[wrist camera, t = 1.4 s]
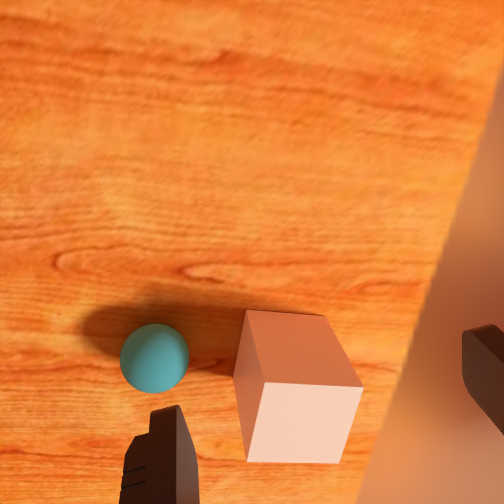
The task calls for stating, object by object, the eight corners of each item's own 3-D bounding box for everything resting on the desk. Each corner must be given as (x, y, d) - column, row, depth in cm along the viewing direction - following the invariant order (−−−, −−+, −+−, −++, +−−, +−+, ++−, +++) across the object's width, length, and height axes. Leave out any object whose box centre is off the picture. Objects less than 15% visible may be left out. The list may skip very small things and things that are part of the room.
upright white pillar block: (307, 381, 41) (339, 463, 33) (232, 377, 39) (246, 461, 31) (325, 316, 38) (363, 387, 30) (246, 309, 37) (264, 382, 29)
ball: (168, 373, 38) (167, 417, 34) (111, 349, 37) (102, 392, 32) (200, 327, 37) (203, 367, 32) (143, 300, 35) (138, 338, 31)
